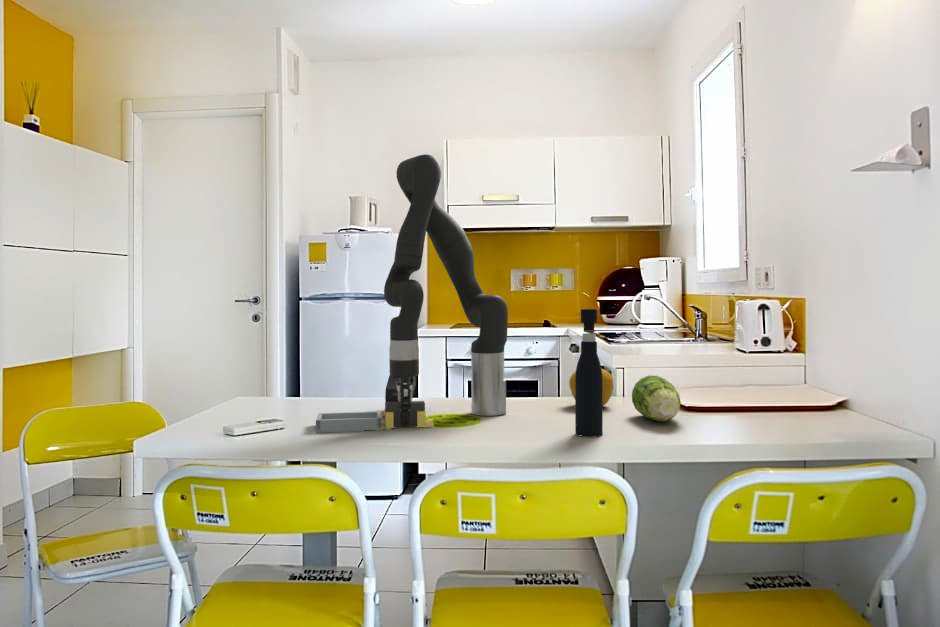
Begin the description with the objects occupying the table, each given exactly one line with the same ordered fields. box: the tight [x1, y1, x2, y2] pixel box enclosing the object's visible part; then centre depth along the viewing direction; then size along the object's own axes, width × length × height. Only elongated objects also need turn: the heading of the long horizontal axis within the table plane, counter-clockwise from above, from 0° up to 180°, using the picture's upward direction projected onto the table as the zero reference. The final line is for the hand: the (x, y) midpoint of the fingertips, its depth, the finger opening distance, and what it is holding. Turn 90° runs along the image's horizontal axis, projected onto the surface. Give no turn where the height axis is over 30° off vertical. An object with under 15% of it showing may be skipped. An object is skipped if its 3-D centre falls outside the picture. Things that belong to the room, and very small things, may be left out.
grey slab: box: [382, 400, 426, 428], centre depth 180 cm, size 11×4×6 cm, turn 98°
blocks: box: [382, 410, 435, 430], centre depth 180 cm, size 14×7×4 cm, turn 98°
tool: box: [384, 374, 417, 402], centre depth 198 cm, size 6×19×15 cm
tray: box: [315, 410, 383, 433], centre depth 178 cm, size 16×10×3 cm, turn 98°
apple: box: [568, 368, 614, 406], centre depth 208 cm, size 13×13×11 cm
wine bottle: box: [574, 308, 604, 437], centre depth 168 cm, size 6×6×30 cm
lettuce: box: [631, 375, 682, 422], centre depth 184 cm, size 12×21×11 cm, turn 178°
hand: (404, 424), depth 180 cm, fingers closed on grey slab, 3 cm apart
